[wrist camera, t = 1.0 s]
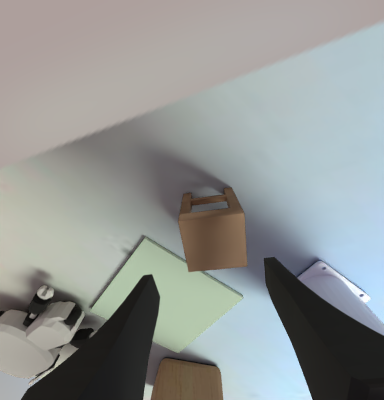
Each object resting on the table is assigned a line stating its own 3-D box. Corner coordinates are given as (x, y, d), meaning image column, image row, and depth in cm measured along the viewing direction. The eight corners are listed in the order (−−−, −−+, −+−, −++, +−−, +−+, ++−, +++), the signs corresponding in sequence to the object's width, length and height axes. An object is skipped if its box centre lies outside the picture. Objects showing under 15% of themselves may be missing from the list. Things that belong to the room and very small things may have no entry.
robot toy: (57, 265, 26) (-20, 311, 28) (32, 292, 22) (-56, 344, 24) (116, 320, 30) (44, 357, 32) (105, 352, 25) (23, 392, 28)
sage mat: (242, 295, 25) (243, 297, 25) (178, 350, 30) (177, 353, 30) (145, 236, 22) (144, 238, 22) (91, 308, 27) (89, 311, 27)
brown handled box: (231, 187, 20) (244, 213, 14) (234, 229, 22) (247, 266, 16) (183, 193, 20) (177, 221, 15) (190, 234, 22) (188, 272, 17)
